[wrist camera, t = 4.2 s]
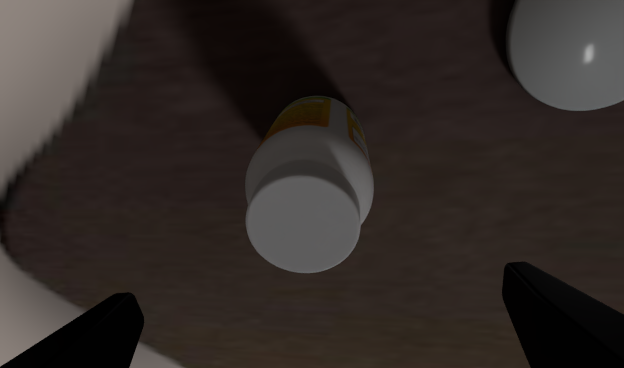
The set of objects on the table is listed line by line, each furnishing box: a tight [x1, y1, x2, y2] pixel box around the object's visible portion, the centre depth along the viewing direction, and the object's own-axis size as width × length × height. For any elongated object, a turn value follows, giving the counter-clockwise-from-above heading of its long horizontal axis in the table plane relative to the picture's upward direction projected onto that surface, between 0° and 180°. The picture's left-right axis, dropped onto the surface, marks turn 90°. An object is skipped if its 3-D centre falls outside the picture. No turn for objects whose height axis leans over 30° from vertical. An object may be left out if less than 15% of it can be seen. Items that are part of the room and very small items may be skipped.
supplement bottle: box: [245, 96, 374, 273], centre depth 17 cm, size 5×5×10 cm
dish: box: [506, 0, 624, 111], centre depth 17 cm, size 8×8×1 cm
